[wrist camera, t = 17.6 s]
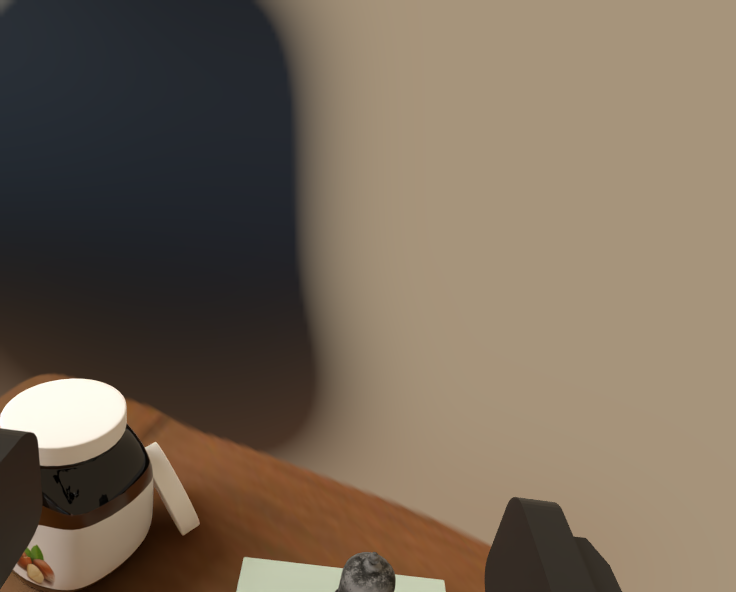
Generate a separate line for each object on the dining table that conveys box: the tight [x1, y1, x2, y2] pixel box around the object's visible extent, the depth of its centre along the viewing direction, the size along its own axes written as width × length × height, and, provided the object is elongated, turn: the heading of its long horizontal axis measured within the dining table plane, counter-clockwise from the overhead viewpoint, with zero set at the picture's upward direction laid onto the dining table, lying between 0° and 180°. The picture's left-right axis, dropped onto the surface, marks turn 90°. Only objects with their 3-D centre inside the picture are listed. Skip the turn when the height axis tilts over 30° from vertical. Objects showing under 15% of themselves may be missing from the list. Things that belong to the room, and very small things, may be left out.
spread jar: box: [0, 379, 200, 592], centre depth 38 cm, size 12×11×12 cm
